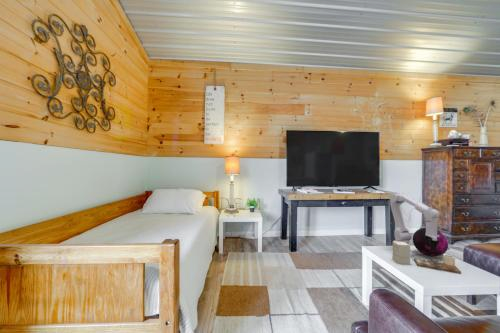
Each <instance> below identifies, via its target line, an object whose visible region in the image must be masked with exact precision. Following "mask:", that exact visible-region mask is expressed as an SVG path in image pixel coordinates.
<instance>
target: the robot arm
mask: <svg viewBox="0 0 500 333" xmlns="http://www.w3.org/2000/svg"><path fill="white" fill-rule="evenodd" d="M388 199H389V200H390V210H391V213H392V216H393V219H394V223H395V227H396V228H395V229H394V235H393V236H394V240H393V241H397V242H405V243H407V244H409V243H410V241H411V240H412V239H413V236H412V235H411V233H410V231H409V229H408V228H406V225H405V222H404V218H403V216H402V212H401V208H400V207H401V205H402V204H404V203H407V204H408V205H411V206H413V207H414V208H415V210H417V211H418V212H420V213H421V214H422V215H423V216H424V217H425V228H426V234H425V235H424V237H425V239H426V243H427V247H430V249H431V251H435V250H436V247H437V245H438V243H439V242H440V241H438V240H437V237H439V235H437V230H438V218H439V217H440V215H441V214H440V211H439V210H437V209H436V208H432V207H431V206H428V205H426V204H425V203H424V202H417V201H416V200H414V199H413V198H411V197H410V196H409V195H408V194H406V193H404V192H402V193H397V192H396V193H395V192H394V193H391V194H390V196H389V198H388ZM409 245H410V244H409Z"/></svg>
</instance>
